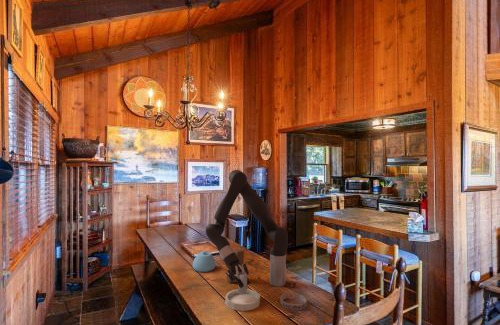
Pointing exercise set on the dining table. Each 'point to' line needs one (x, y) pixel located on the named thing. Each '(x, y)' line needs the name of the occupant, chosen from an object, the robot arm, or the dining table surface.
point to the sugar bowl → (204, 262)
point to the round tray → (242, 300)
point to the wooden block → (241, 259)
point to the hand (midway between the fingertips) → (245, 285)
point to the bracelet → (292, 306)
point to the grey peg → (244, 280)
